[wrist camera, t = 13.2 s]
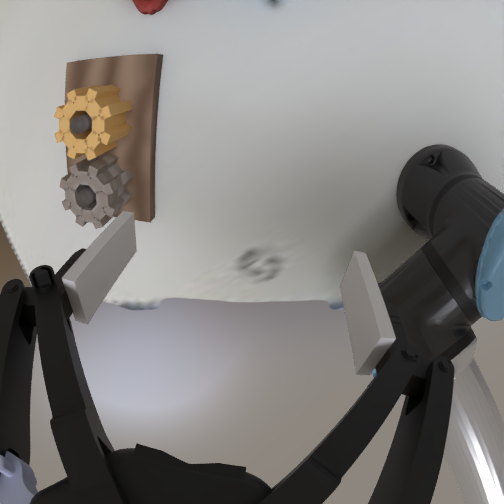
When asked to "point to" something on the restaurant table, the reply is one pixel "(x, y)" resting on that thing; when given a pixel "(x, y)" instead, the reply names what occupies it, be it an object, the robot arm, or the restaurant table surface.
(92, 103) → the ochre gear
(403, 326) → the robot arm
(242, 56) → the restaurant table surface
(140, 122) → the gear board
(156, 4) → the stacking bear
